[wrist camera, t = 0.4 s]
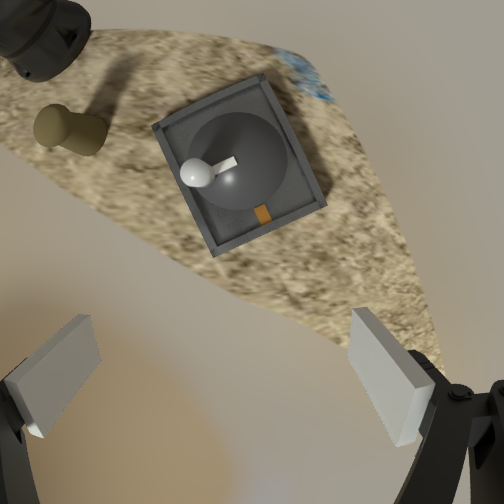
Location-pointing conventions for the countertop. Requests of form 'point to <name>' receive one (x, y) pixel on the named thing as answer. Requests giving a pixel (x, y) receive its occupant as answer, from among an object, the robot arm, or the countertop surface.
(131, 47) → the countertop surface
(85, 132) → the cork
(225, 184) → the lever
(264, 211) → the dark grey tray
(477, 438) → the robot arm
